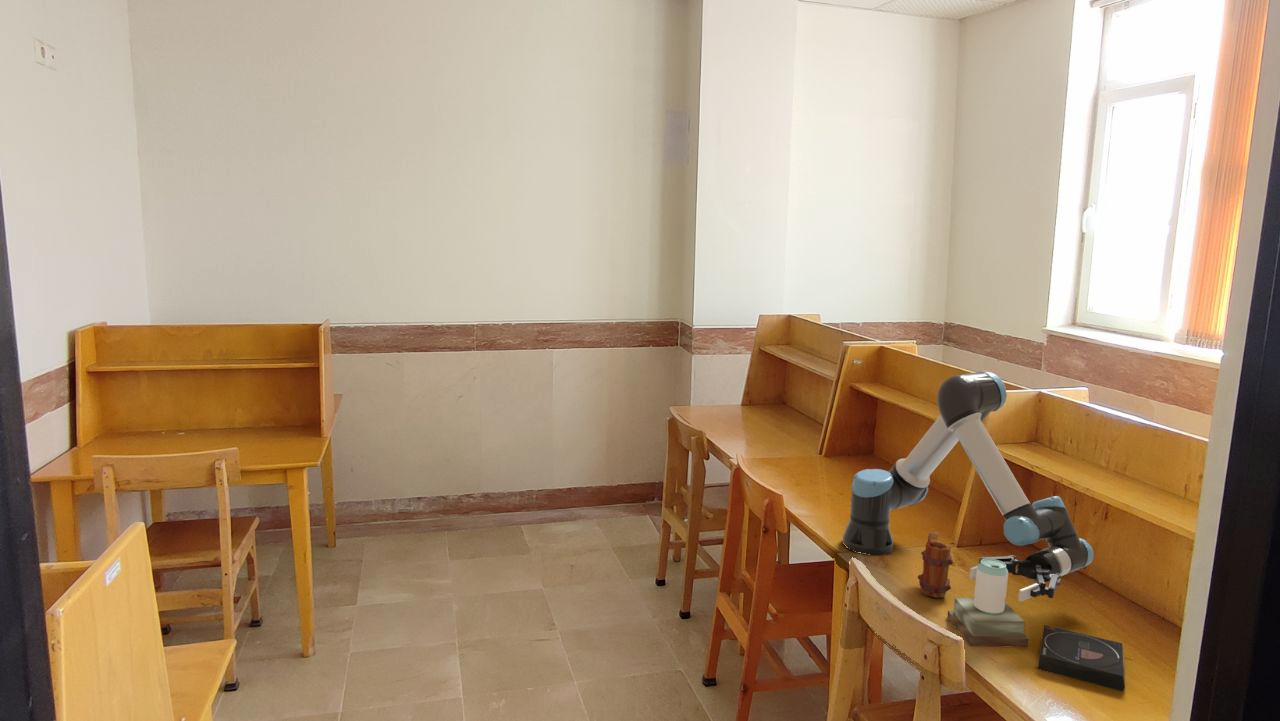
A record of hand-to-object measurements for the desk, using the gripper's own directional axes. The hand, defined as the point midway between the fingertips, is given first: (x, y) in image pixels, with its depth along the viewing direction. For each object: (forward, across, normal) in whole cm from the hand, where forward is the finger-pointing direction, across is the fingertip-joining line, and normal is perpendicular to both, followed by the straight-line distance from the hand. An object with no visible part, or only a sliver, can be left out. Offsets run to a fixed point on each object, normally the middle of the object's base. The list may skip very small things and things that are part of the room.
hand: (994, 584), depth 200 cm
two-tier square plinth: (+1, +1, -13) cm, 13 cm away
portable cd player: (-6, -19, -14) cm, 25 cm away
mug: (-7, +23, -13) cm, 28 cm away
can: (0, +1, -7) cm, 7 cm away
